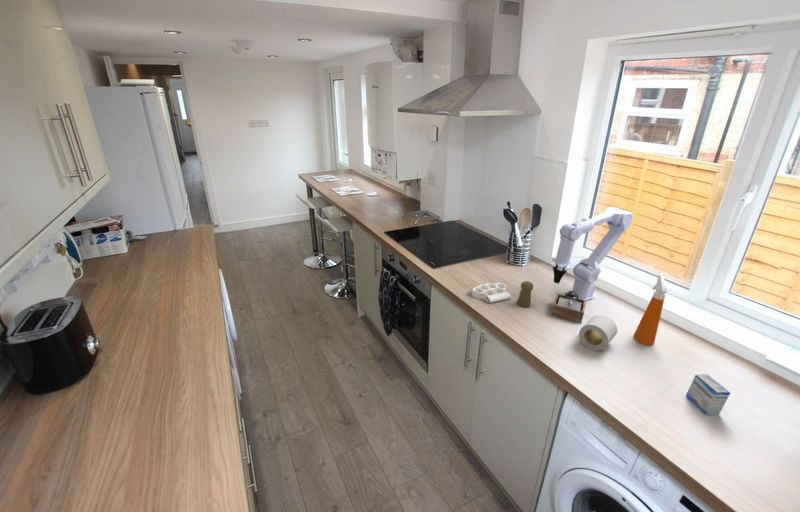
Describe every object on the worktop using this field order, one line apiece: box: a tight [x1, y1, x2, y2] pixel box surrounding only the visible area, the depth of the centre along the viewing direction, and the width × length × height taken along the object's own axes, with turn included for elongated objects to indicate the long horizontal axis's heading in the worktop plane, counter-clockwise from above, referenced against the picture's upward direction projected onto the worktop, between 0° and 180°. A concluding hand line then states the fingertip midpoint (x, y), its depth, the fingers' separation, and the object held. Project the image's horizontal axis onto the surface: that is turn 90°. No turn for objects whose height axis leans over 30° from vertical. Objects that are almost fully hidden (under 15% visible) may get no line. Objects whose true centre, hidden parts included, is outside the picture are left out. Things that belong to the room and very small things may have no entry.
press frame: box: [550, 293, 587, 324], centre depth 158 cm, size 12×12×5 cm
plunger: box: [556, 290, 582, 311], centre depth 157 cm, size 9×9×6 cm
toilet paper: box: [578, 314, 618, 351], centre depth 138 cm, size 10×10×10 cm
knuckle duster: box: [471, 282, 512, 304], centre depth 172 cm, size 3×18×15 cm
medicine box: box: [685, 373, 731, 416], centre depth 110 cm, size 8×4×9 cm, turn 5°
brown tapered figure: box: [516, 280, 534, 309], centre depth 162 cm, size 6×6×11 cm
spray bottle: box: [632, 273, 668, 346], centre depth 139 cm, size 7×11×26 cm, turn 161°
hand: (557, 279), depth 164 cm, fingers open, 7 cm apart
